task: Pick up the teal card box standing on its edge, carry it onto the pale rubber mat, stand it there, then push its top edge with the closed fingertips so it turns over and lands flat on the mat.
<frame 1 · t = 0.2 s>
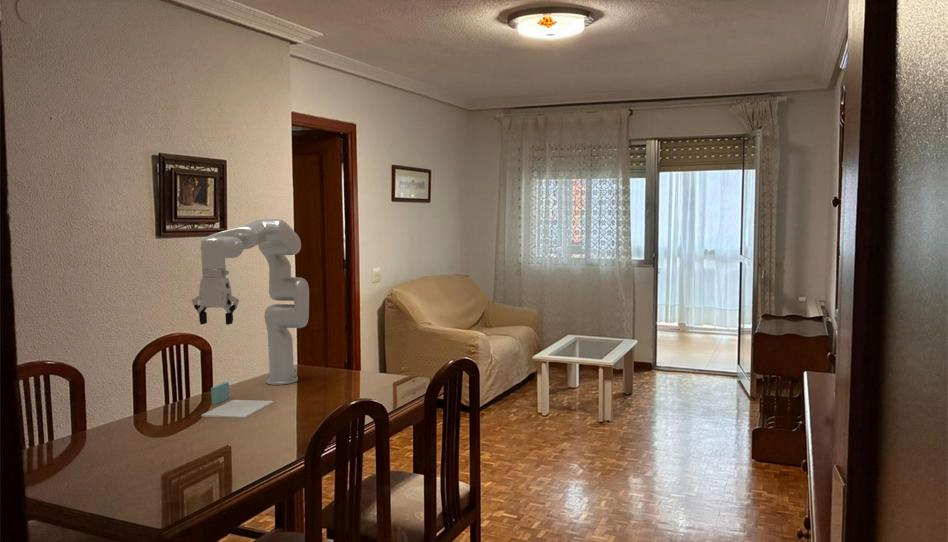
hand: (216, 324, 241), 30 cm above the table, fingers open, 9 cm apart
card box: (220, 401, 258), on the table
mat: (238, 409, 245), on the table
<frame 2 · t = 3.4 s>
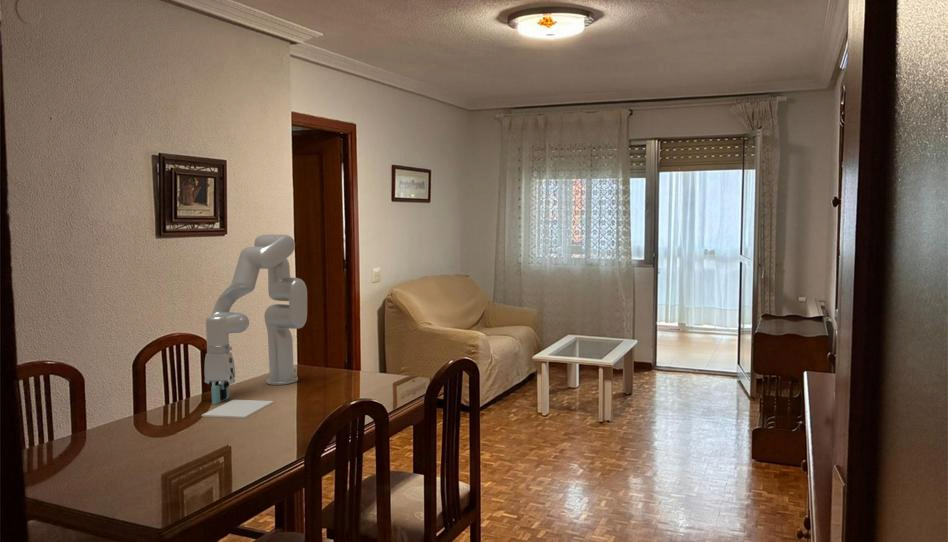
hand: (220, 399, 257), 1 cm above the table, fingers closed on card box, 1 cm apart
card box: (220, 400, 257), on the table, touching gripper
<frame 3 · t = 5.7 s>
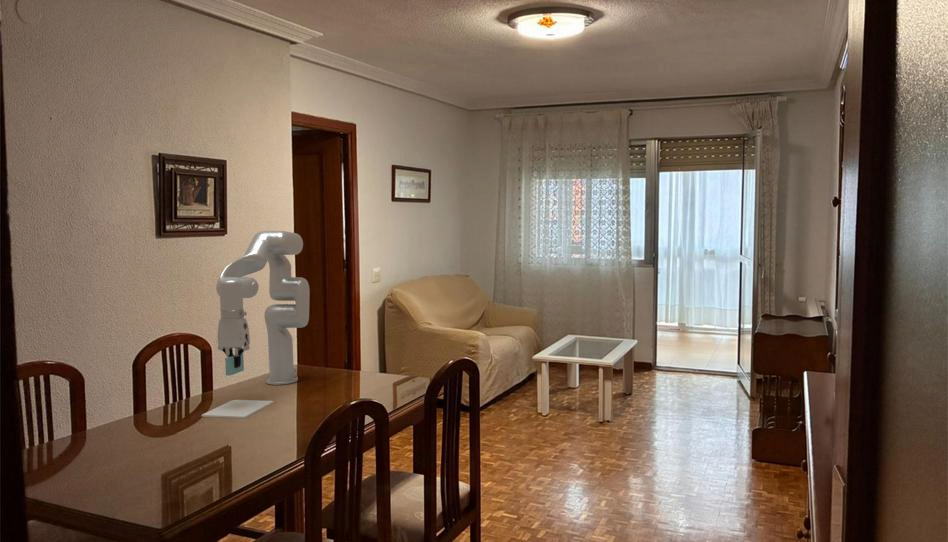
hand: (234, 366, 246), 14 cm above the table, fingers closed on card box, 1 cm apart
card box: (235, 372, 246), point 12 cm above the table, touching gripper
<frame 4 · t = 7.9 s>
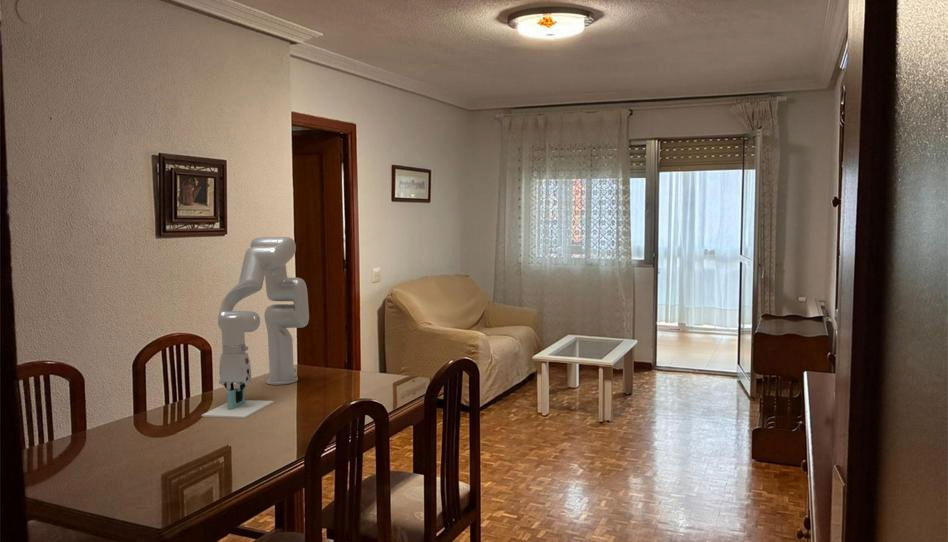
hand: (236, 401, 247), 2 cm above the table, fingers closed on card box, 1 cm apart
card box: (236, 406, 247), point 1 cm above the table, touching gripper, mat
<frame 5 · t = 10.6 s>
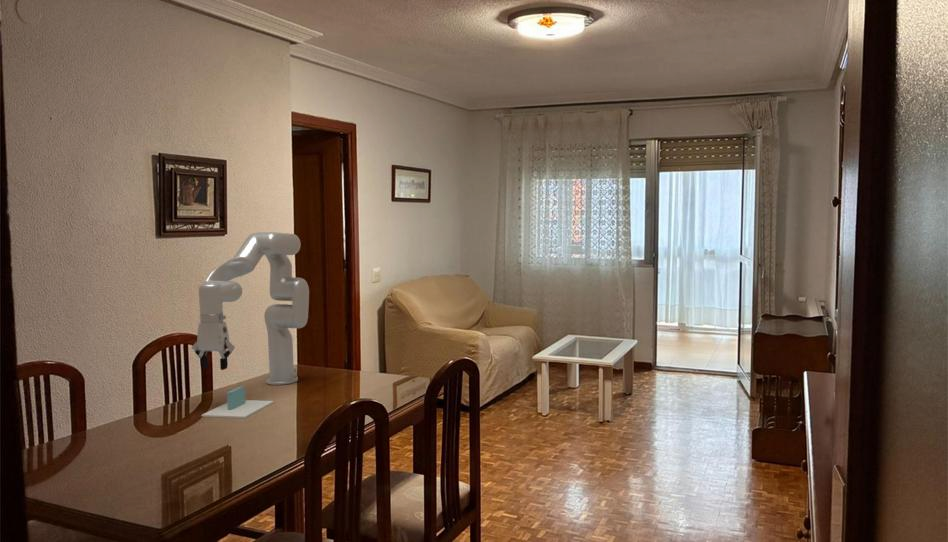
hand: (214, 368, 248), 14 cm above the table, fingers open, 6 cm apart
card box: (236, 406, 247), point 1 cm above the table, touching mat
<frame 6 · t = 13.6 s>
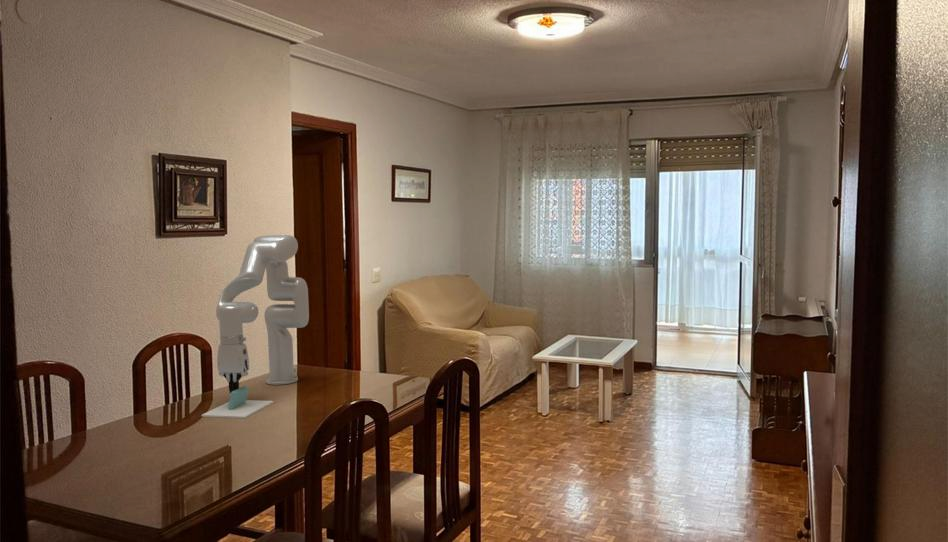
hand: (234, 392, 247), 6 cm above the table, fingers closed
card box: (236, 405, 247), point 1 cm above the table, tilted 15°, touching gripper, mat
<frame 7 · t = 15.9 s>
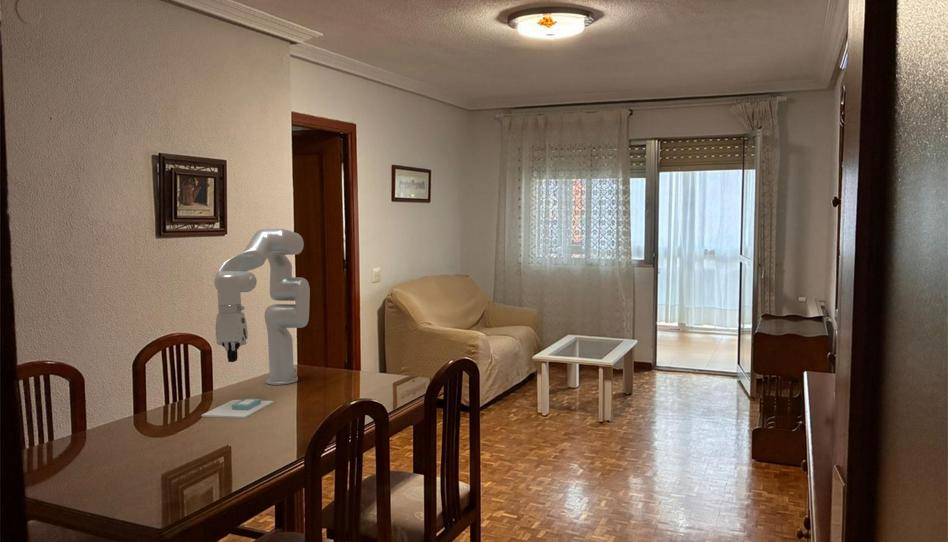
hand: (232, 361, 247), 16 cm above the table, fingers closed
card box: (238, 404, 247), point 1 cm above the table, tilted 90°, touching mat
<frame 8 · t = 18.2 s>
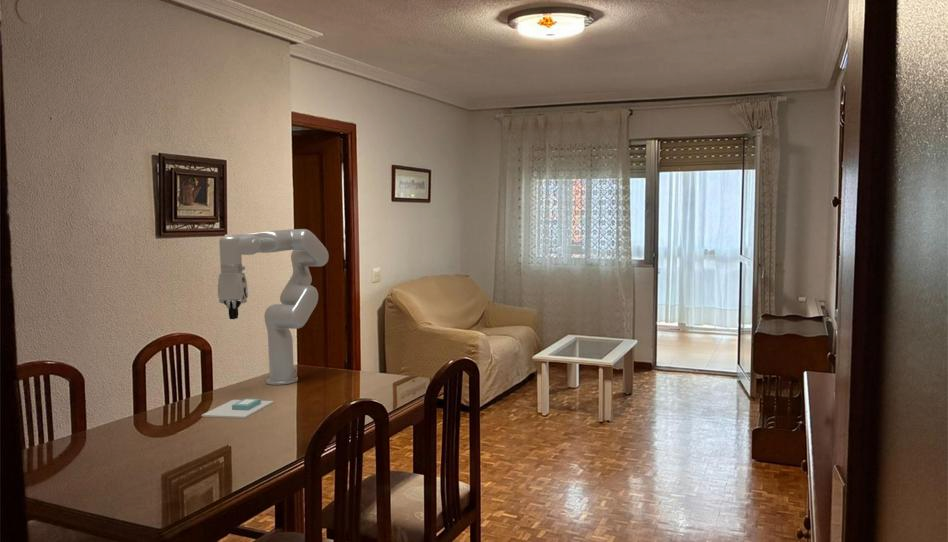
hand: (233, 318, 263), 29 cm above the table, fingers closed
nothing on the table moved.
at the end: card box tilted 90°; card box inside the target area on the mat (2.1 cm from its centre), point 1.4 cm above the mat's base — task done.
